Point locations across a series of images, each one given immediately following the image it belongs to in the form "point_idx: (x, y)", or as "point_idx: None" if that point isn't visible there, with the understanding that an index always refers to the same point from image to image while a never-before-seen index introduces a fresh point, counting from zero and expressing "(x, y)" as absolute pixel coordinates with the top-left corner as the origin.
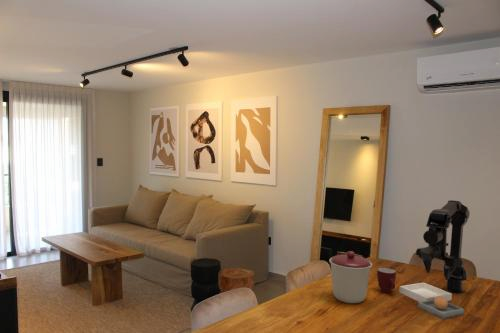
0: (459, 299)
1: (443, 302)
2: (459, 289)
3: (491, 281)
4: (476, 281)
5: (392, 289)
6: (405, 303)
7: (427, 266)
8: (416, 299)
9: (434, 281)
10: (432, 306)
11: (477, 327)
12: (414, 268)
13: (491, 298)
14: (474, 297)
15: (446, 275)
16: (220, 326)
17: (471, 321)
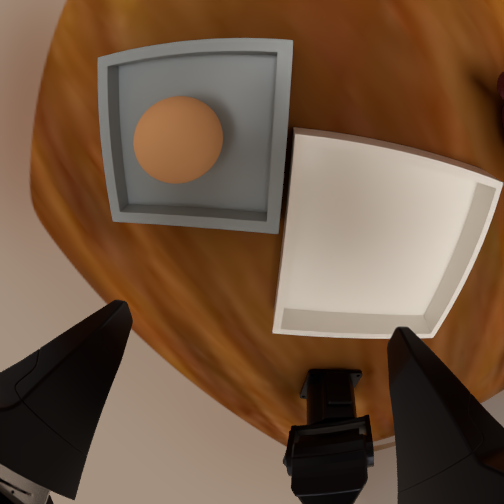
0: (265, 339)
1: (136, 128)
2: (308, 391)
3: None
4: None
5: (498, 80)
6: (373, 35)
7: (428, 400)
8: (376, 140)
9: None
10: (239, 117)
11: (36, 150)
12: None
13: (226, 401)
14: (254, 382)
15: (76, 331)
16: None
17: (71, 175)
